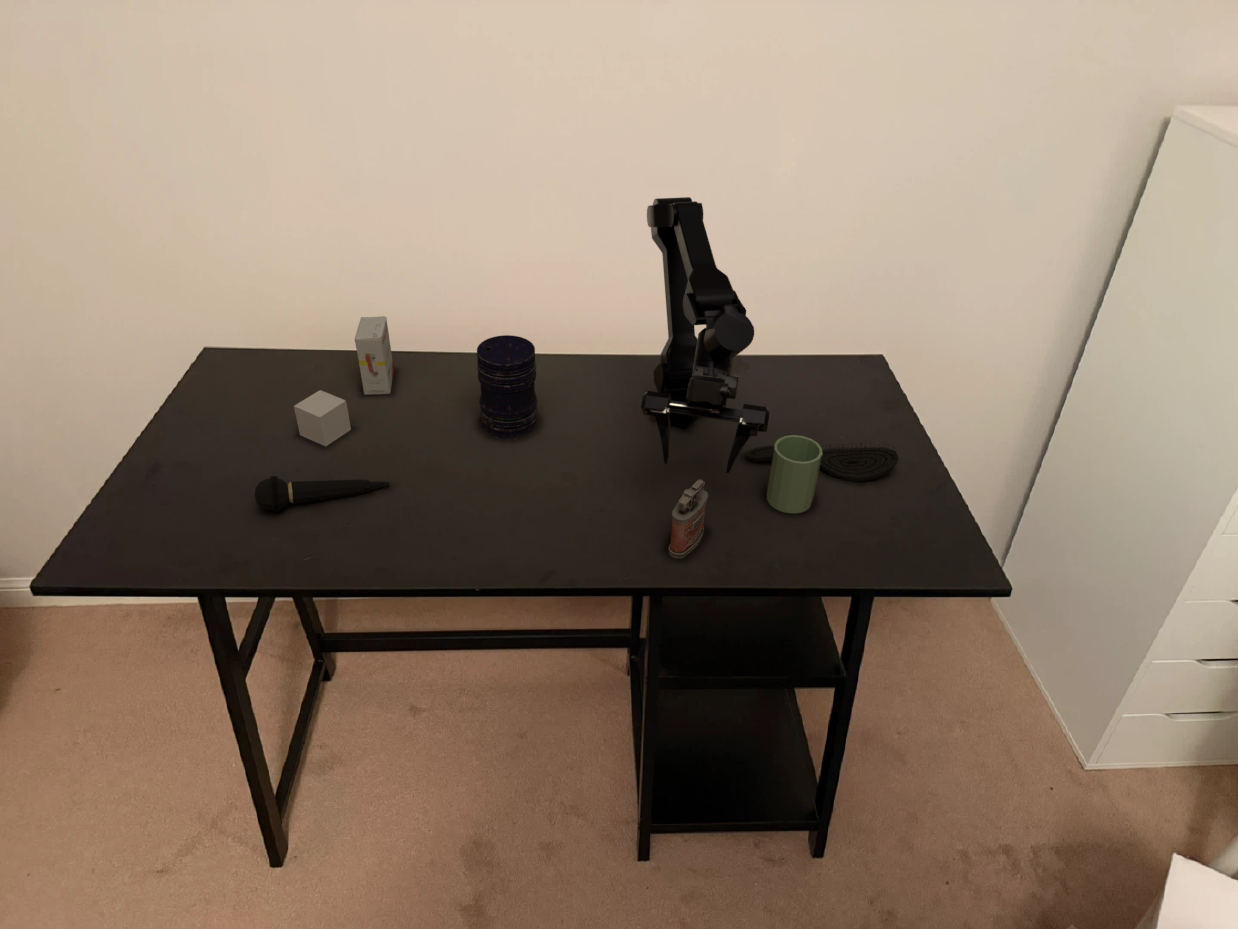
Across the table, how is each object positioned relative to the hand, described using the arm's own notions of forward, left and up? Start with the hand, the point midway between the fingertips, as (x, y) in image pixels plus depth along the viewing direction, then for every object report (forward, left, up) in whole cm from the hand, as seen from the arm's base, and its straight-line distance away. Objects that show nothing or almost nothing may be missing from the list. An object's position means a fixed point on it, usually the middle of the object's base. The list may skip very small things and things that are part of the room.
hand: (696, 468), depth 137 cm
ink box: (-67, +5, -11) cm, 68 cm away
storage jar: (-39, +7, -11) cm, 41 cm away
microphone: (-51, -26, -11) cm, 58 cm away
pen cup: (+11, +14, -11) cm, 21 cm away
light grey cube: (-64, -12, -11) cm, 66 cm away
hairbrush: (+12, +25, -11) cm, 30 cm away
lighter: (+1, -4, -11) cm, 12 cm away
